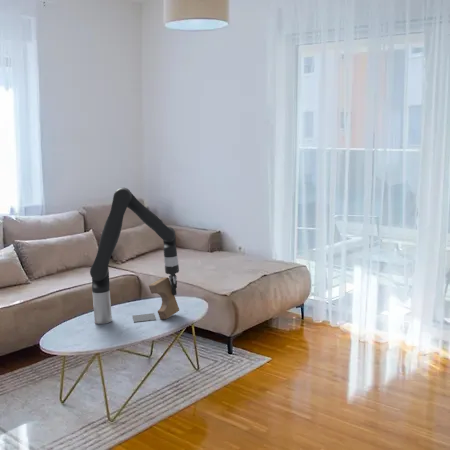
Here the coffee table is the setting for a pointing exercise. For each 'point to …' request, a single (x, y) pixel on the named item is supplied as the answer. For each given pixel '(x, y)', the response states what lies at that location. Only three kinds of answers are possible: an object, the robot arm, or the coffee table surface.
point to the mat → (144, 317)
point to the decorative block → (165, 297)
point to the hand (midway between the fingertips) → (174, 294)
